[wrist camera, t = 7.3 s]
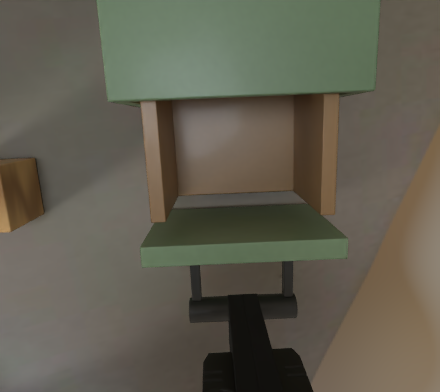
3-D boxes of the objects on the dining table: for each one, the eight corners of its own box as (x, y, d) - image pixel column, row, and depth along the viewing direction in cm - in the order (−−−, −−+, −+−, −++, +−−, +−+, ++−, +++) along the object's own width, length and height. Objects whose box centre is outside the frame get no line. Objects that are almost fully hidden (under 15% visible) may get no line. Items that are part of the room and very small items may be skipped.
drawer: (307, 280, 27) (343, 342, 20) (168, 287, 27) (149, 351, 20) (312, 31, 23) (360, -13, 15) (147, 38, 23) (114, -3, 15)
